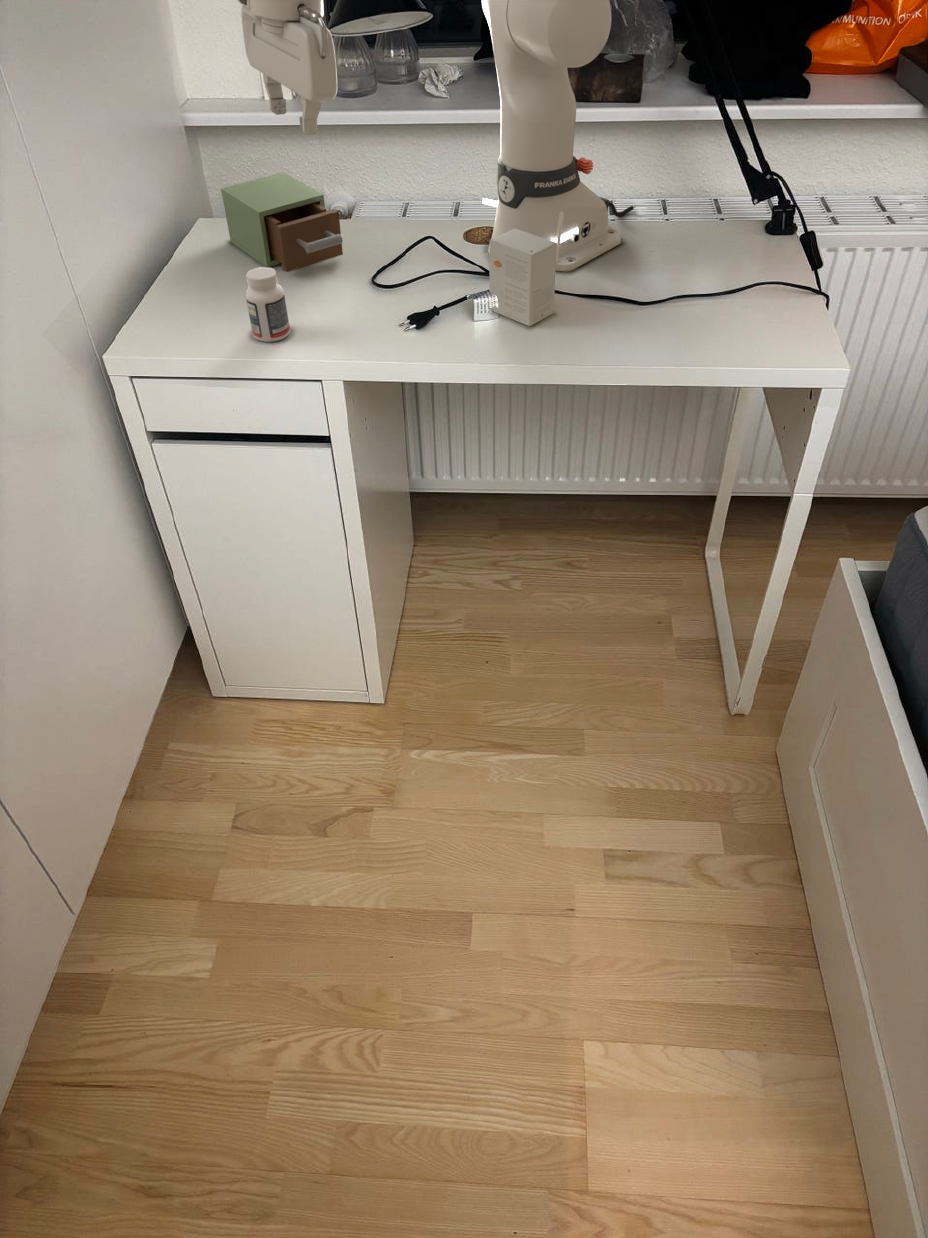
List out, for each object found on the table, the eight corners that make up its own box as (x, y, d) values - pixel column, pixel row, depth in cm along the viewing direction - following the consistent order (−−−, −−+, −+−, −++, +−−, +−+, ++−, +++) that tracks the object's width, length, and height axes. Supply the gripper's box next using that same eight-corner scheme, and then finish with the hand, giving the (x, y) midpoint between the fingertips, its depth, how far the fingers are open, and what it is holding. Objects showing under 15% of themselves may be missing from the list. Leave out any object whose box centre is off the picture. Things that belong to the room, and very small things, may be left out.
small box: (554, 314, 134) (559, 242, 127) (529, 327, 131) (532, 254, 124) (513, 297, 138) (515, 226, 131) (487, 310, 135) (488, 238, 128)
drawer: (357, 263, 145) (353, 219, 140) (300, 281, 140) (293, 236, 136) (306, 231, 154) (300, 189, 149) (250, 247, 149) (243, 204, 144)
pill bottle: (294, 325, 132) (285, 265, 126) (285, 343, 129) (276, 282, 122) (258, 324, 133) (247, 263, 126) (248, 341, 129) (237, 280, 123)
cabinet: (329, 248, 151) (323, 194, 145) (267, 267, 146) (258, 212, 140) (291, 224, 158) (283, 171, 152) (230, 241, 153) (220, 188, 147)
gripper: (349, 13, 107) (351, 142, 116) (276, -19, 119) (283, 101, 128) (299, 15, 104) (305, 147, 113) (229, -18, 116) (240, 104, 125)
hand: (293, 122), depth 121 cm, fingers open, 8 cm apart
